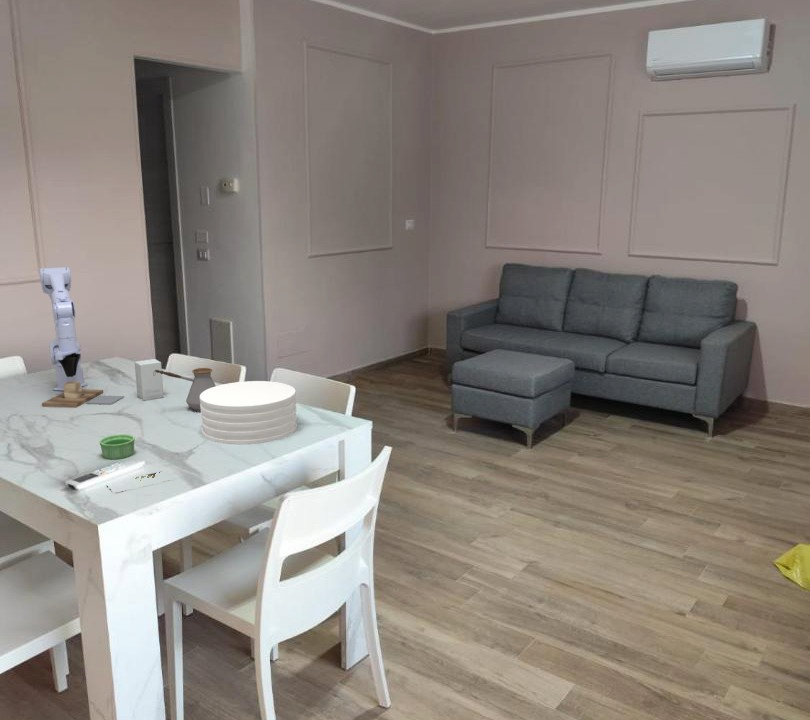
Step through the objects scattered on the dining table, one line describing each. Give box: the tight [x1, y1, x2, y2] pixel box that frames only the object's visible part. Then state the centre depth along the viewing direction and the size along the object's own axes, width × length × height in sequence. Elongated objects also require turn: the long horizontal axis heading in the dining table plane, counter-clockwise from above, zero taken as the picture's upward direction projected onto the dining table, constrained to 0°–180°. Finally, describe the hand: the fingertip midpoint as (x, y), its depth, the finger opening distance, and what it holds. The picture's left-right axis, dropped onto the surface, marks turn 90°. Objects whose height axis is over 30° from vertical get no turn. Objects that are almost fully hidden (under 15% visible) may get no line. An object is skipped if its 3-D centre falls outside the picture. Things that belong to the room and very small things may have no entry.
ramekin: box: [99, 434, 136, 460], centre depth 201 cm, size 9×9×4 cm
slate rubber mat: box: [85, 395, 125, 405], centre depth 254 cm, size 9×9×1 cm
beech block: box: [63, 381, 82, 399], centre depth 254 cm, size 4×4×6 cm
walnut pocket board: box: [41, 388, 104, 408], centre depth 255 cm, size 18×12×1 cm, turn 173°
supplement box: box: [134, 358, 165, 401], centre depth 256 cm, size 7×7×13 cm
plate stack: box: [200, 380, 298, 445], centre depth 222 cm, size 28×28×12 cm
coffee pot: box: [153, 367, 217, 412], centre depth 240 cm, size 21×12×15 cm, turn 122°
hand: (71, 376), depth 253 cm, fingers closed
